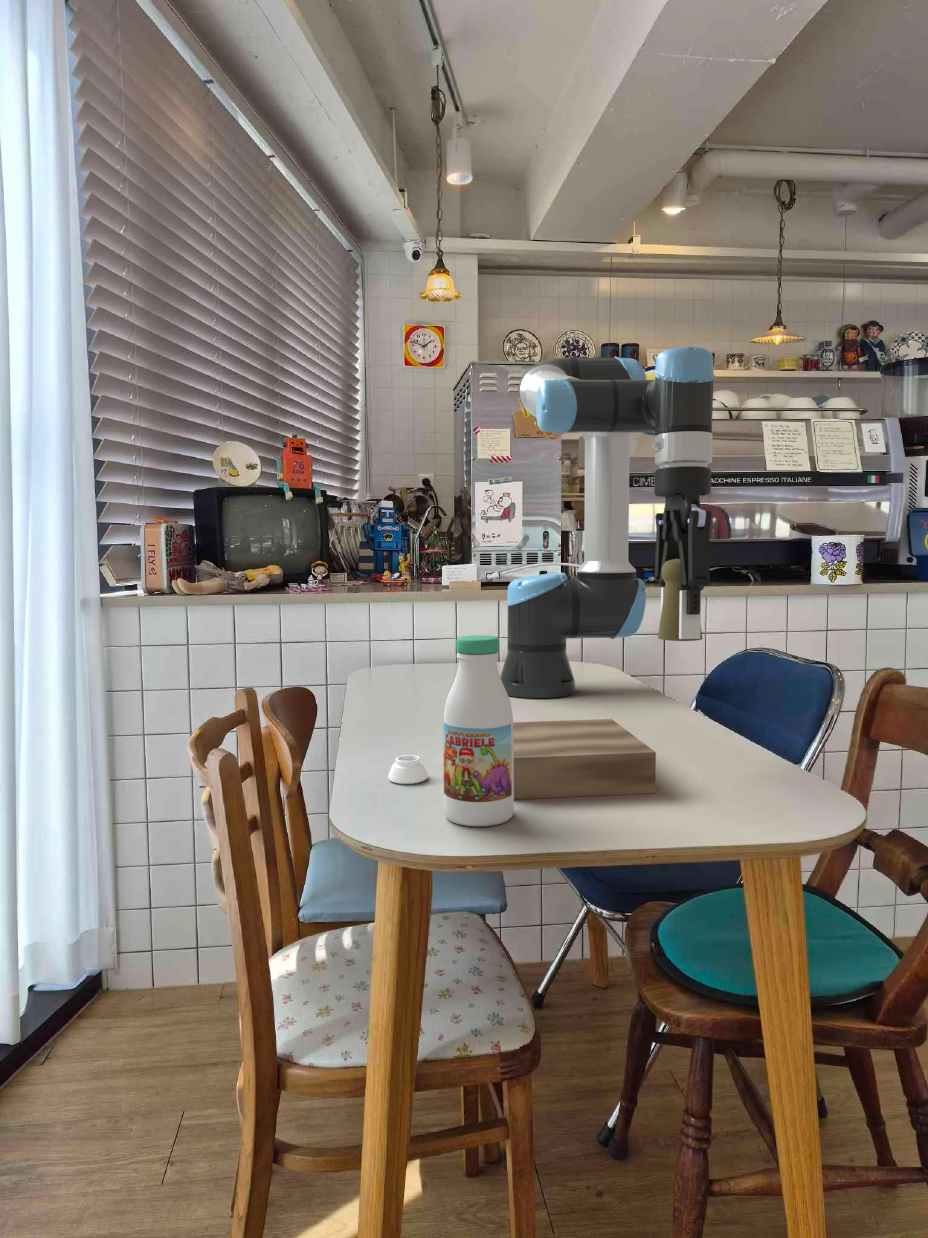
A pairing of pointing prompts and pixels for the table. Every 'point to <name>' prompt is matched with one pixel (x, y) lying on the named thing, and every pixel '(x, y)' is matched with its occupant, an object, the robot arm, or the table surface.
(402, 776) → the white jar
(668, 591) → the olive pepper mill
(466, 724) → the milk bottle
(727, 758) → the table surface
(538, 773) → the walnut riser
